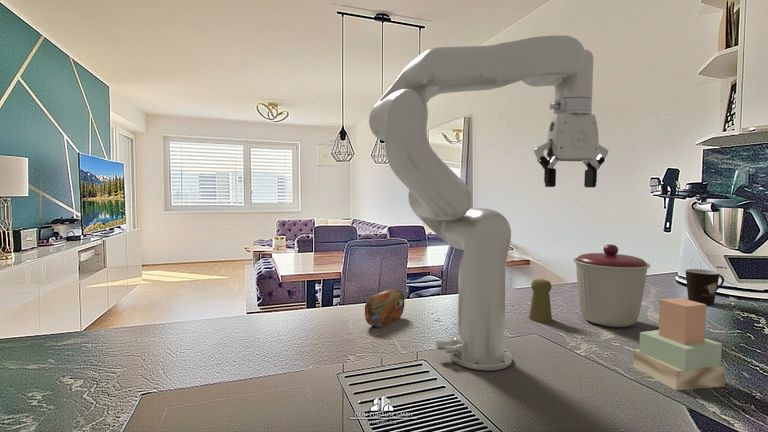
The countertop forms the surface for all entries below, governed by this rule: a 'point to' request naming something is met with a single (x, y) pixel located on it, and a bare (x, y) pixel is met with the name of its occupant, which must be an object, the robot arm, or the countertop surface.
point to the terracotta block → (682, 320)
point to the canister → (610, 287)
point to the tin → (384, 307)
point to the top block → (680, 351)
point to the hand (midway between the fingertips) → (570, 187)
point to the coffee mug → (702, 285)
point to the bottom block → (679, 373)
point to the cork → (540, 301)
